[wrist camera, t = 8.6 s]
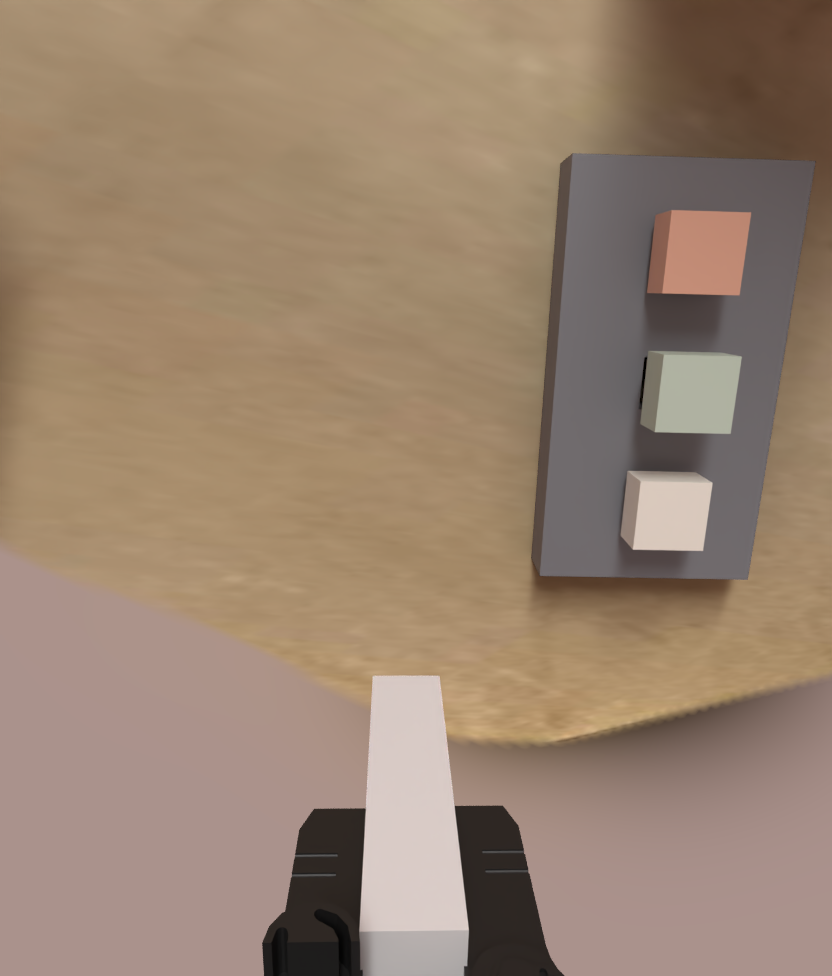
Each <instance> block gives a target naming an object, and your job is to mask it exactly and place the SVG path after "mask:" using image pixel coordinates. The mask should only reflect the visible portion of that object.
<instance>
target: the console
mask: <svg viewBox="0 0 832 976" xmlns="http://www.w3.org/2000/svg"><path fill="white" fill-rule="evenodd" d="M815 162H816V161H801V160H769V159H737V158H705V157H673V156H640V155H608V154H576V153H573V154H571V155H570V156H569V157H568V158H566V159H565V160H564V161H563V162H562V163H561V166H560V179H559V193H558V206H557V220H556V233H555V247H554V260H553V274H552V287H551V301H550V314H549V328H548V341H547V355H546V368H545V382H544V395H543V409H542V422H541V436H540V449H539V463H538V476H537V490H536V503H535V517H534V530H533V544H532V557H531V558H532V561H533V563H534V565H535V567H536V569H537V571H538V573H539V575H540V576H573V577H628V578H684V579H740V580H748V574H749V568H750V562H751V556H752V549H753V543H754V537H755V531H756V525H757V519H758V513H759V506H760V500H761V494H762V488H763V482H764V476H765V470H766V463H767V457H768V451H769V445H770V439H771V433H772V426H773V420H774V414H775V408H776V402H777V396H778V390H779V383H780V377H781V371H782V365H783V359H784V353H785V347H786V340H787V334H788V328H789V322H790V316H791V310H792V303H793V297H794V291H795V285H796V279H797V273H798V267H799V260H800V254H801V248H802V242H803V236H804V230H805V224H806V217H807V211H808V205H809V199H810V193H811V187H812V181H813V174H814V168H815ZM670 210H687V211H721V212H751V218H750V225H749V232H748V239H747V246H746V253H745V260H744V267H743V274H742V281H741V288H740V295H699V294H662V293H647V288H648V279H649V270H650V261H651V251H652V242H653V233H654V224H655V215H657V214H660V213H664V212H667V211H670ZM648 351H677V352H717V353H726V354H731V355H736V356H741V357H742V359H741V366H740V373H739V380H738V387H737V393H736V400H735V407H734V414H733V421H732V428H731V434H712V433H668V432H654V431H652V430H650V429H648V428H647V427H645V426H643V425H641V424H640V421H641V412H642V403H643V402H639V401H640V392H641V383H642V374H643V365H644V357H648ZM628 471H664V472H696V473H698V474H699V475H701V476H702V477H704V478H706V479H707V480H709V481H710V482H712V483H713V484H712V491H711V498H710V505H709V512H708V519H707V526H706V533H705V540H704V547H703V551H680V550H633V549H632V548H631V547H630V546H629V545H628V543H627V542H626V541H625V540H624V539H623V538H622V537H621V527H622V517H623V508H624V499H625V490H626V481H627V472H628Z"/></svg>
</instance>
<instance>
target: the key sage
mask: <svg viewBox="0 0 832 976" xmlns="http://www.w3.org/2000/svg"><path fill="white" fill-rule="evenodd" d="M741 359H742V357H741V356H736V355H731V354H726V353H717V352H677V351H648V358H647V367H646V376H645V385H644V394H643V403H642V412H641V421H640V424H641V425H643V426H645V427H647V428H648V429H650V430H652V431H654V432H668V433H712V434H731V428H732V421H733V414H734V407H735V400H736V393H737V387H738V380H739V373H740V366H741Z"/></svg>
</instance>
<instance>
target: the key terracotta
mask: <svg viewBox="0 0 832 976" xmlns="http://www.w3.org/2000/svg"><path fill="white" fill-rule="evenodd" d="M750 218H751V212H721V211H687V210H670V211H667V212H664V213H660V214H657V215H655V224H654V233H653V242H652V251H651V261H650V270H649V279H648V288H647V293H662V294H699V295H740V288H741V281H742V274H743V267H744V260H745V253H746V246H747V239H748V232H749V225H750Z"/></svg>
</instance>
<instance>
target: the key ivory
mask: <svg viewBox="0 0 832 976" xmlns="http://www.w3.org/2000/svg"><path fill="white" fill-rule="evenodd" d="M712 484H713V483H712V482H710V481H709V480H707V479H706V478H704V477H702V476H701V475H699V474H698V473H696V472H664V471H628V472H627V481H626V490H625V499H624V508H623V517H622V527H621V537H622V538H623V539H624V540H625V541H626V542H627V543H628V545H629V546H630V547H631V548H632V549H633V550H680V551H703V547H704V540H705V533H706V526H707V519H708V512H709V505H710V498H711V491H712Z"/></svg>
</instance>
